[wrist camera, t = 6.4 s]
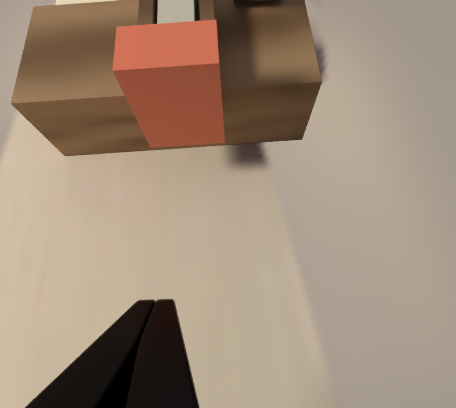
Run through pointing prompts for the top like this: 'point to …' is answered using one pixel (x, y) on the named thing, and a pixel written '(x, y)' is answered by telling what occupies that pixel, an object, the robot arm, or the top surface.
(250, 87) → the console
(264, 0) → the lever
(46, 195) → the top surface
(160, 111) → the red plunger
